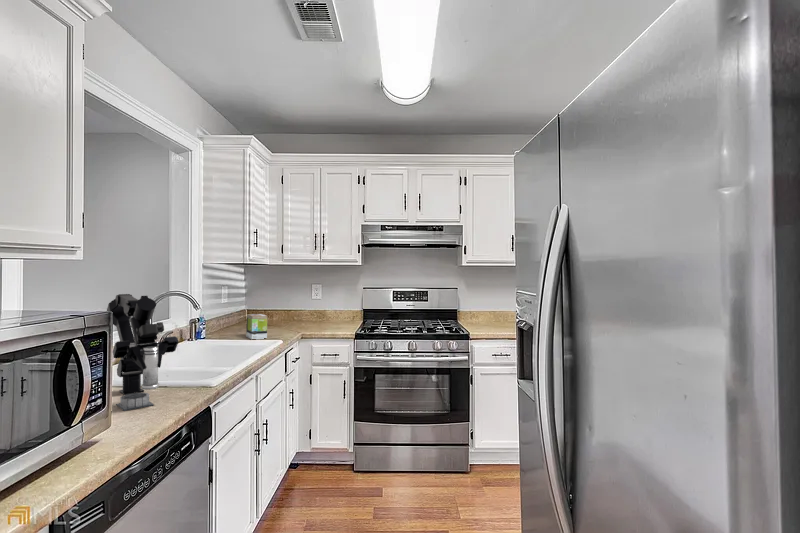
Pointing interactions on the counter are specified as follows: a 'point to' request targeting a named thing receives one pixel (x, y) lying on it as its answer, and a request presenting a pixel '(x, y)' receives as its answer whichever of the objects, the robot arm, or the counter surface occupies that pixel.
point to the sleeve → (134, 401)
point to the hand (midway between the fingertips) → (151, 368)
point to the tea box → (256, 326)
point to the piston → (150, 368)
